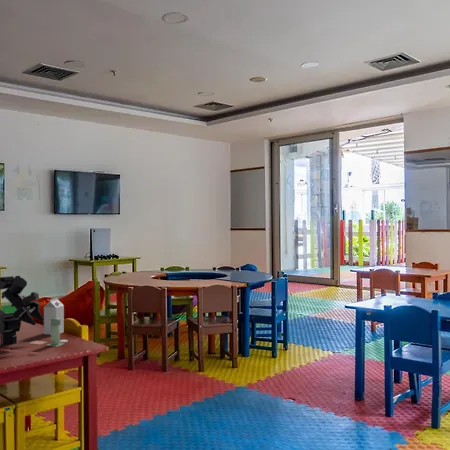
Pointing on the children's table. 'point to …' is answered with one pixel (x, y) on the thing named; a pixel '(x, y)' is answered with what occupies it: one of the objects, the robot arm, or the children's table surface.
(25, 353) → the children's table surface
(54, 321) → the green joystick knob
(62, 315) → the milk carton
